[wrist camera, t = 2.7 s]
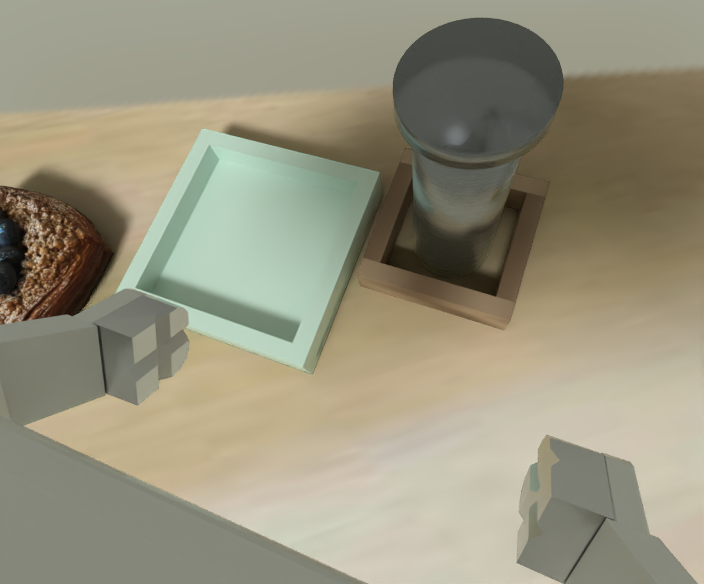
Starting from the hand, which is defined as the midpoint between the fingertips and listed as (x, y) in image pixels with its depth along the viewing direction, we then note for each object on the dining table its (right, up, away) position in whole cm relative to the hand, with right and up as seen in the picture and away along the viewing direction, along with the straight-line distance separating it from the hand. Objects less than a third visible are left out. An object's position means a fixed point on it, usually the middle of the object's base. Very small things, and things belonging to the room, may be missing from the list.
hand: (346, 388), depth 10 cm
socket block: (+6, +5, +18) cm, 20 cm away
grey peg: (+6, +5, +18) cm, 20 cm away
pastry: (-22, +2, +21) cm, 30 cm away
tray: (-6, +5, +19) cm, 21 cm away
